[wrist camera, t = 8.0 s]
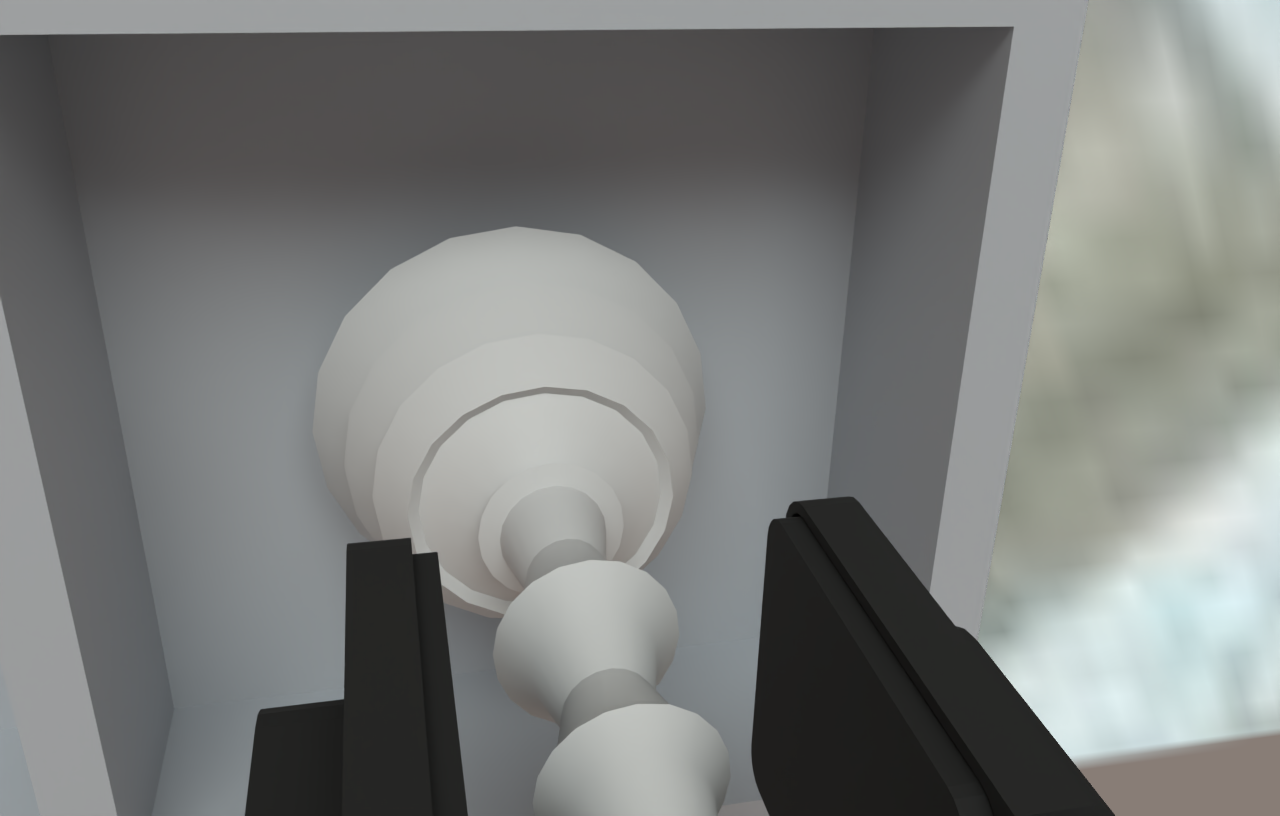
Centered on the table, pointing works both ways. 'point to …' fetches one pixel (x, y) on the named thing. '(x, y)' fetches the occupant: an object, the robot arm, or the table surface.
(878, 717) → the robot arm
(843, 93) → the holder
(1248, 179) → the table surface
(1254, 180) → the table surface
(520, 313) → the chalice
